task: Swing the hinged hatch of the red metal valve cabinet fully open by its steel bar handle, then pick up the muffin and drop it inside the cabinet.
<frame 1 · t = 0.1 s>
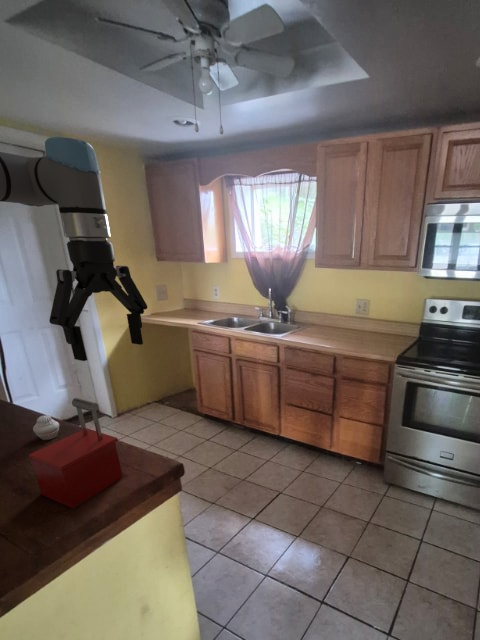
hand: (111, 351, 77), 30 cm above the table, tool pointing down, fingers open, 13 cm apart
hatch: (70, 429, 78), point 15 cm above the table, hinge at 0.0°
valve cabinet: (84, 486, 84), on the table
muffin: (49, 438, 104), on the table
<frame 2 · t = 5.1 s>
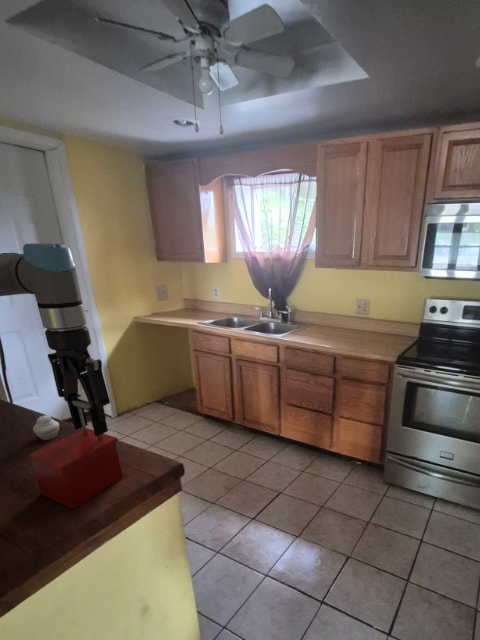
hand: (91, 429, 83), 12 cm above the table, tool pointing down, fingers closed on hatch, 6 cm apart
hatch: (70, 429, 78), point 15 cm above the table, hinge at 0.0°, touching gripper
everything else where it was.
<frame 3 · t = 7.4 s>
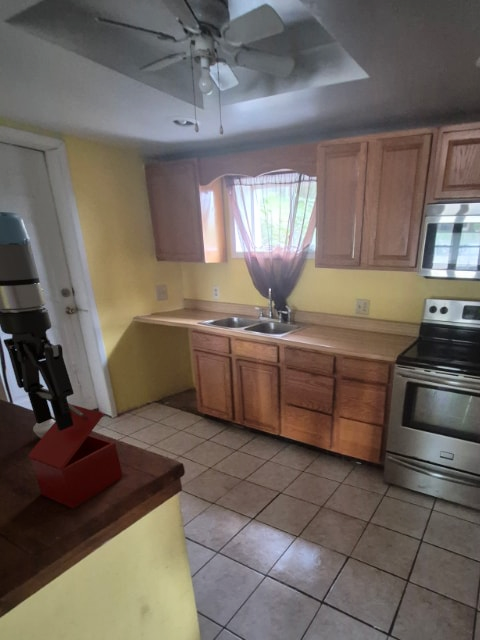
hand: (55, 423, 75), 17 cm above the table, tool pointing down, fingers closed on hatch, 6 cm apart
hatch: (50, 423, 74), point 18 cm above the table, hinge at 33.8°, touching gripper
everything else where it was.
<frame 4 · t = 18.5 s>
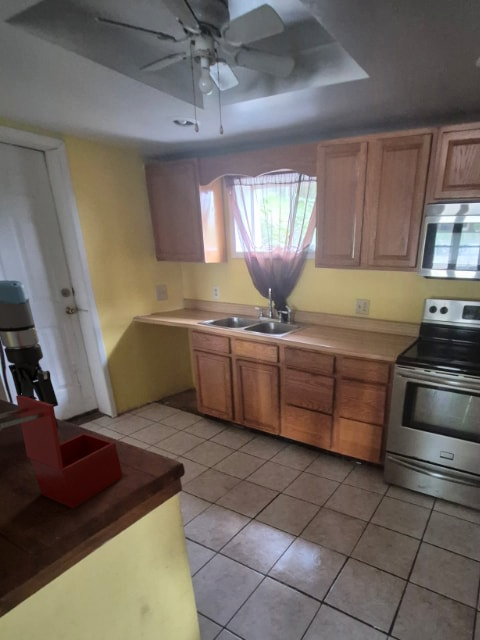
hand: (44, 426, 103), 4 cm above the table, tool pointing down, fingers closed on muffin, 6 cm apart
hatch: (14, 440, 69), point 17 cm above the table, hinge at 83.7°
muffin: (45, 427, 103), point 3 cm above the table, touching gripper
when the fingers open (9 cm above the table, at t = 28.9 s): muffin stays where it is, resting on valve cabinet.
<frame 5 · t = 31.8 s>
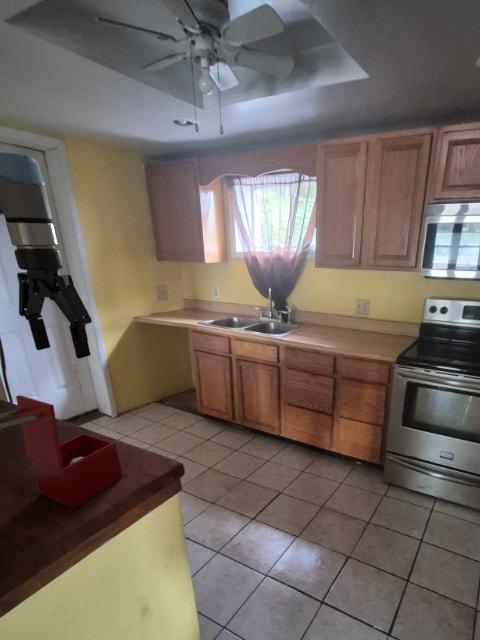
hand: (63, 352, 81), 29 cm above the table, tool pointing down, fingers open, 13 cm apart
muffin: (84, 485, 83), point 1 cm above the table, touching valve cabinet
everything else where it was.
at the end: hatch at +84° (first picture: +0°); muffin inside the target area in the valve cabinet (0.2 cm from its centre), point 0.5 cm above the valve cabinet's base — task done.
